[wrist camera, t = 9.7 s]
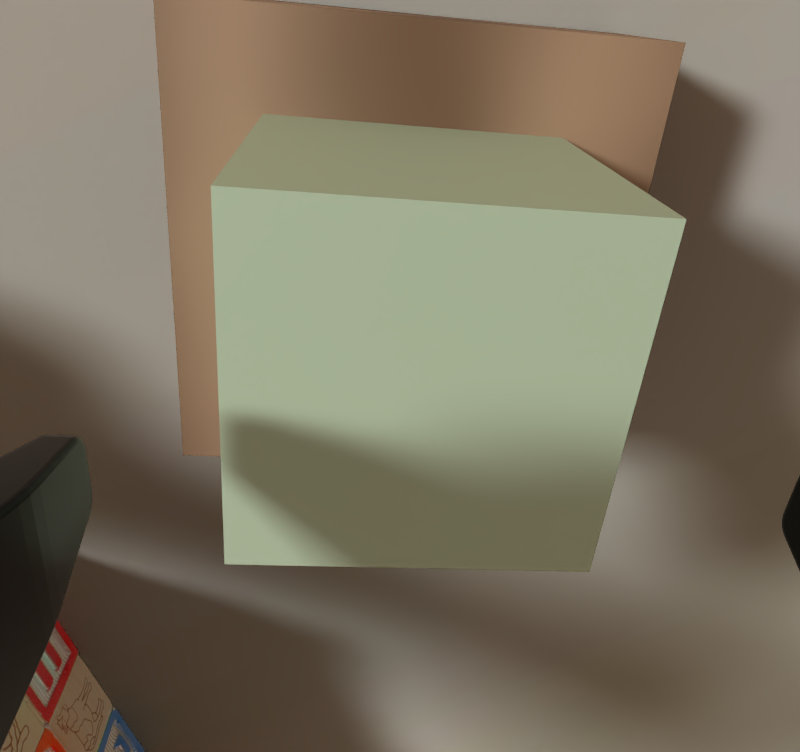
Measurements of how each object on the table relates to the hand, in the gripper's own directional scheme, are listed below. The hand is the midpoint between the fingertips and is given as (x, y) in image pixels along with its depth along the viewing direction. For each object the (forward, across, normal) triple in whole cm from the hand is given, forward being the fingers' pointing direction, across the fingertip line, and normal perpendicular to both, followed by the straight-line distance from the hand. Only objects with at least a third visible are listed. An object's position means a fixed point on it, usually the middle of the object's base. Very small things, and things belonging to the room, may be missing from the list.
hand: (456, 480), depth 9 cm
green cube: (+8, 0, 0) cm, 8 cm away
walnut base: (+12, 0, 0) cm, 12 cm away
